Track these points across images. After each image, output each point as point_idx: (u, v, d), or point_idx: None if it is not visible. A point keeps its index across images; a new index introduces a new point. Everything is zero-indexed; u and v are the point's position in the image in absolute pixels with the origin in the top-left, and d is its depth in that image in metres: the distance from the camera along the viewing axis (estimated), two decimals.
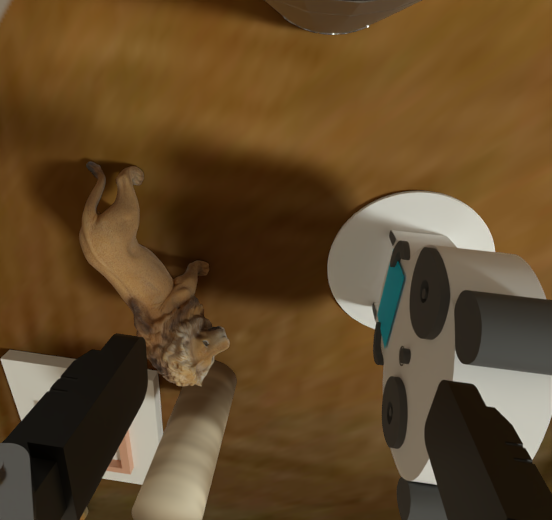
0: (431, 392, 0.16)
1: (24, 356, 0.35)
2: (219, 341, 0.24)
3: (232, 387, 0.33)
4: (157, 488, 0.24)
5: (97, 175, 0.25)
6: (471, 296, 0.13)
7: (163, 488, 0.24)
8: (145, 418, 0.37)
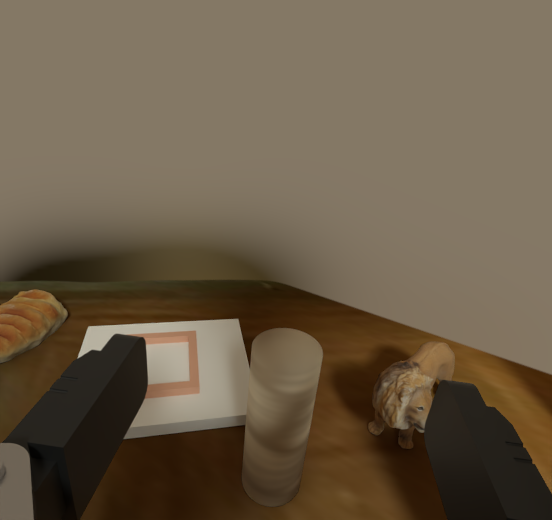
0: None
1: None
2: None
3: (287, 491, 0.27)
4: None
5: None
6: None
7: None
8: (197, 409, 0.33)
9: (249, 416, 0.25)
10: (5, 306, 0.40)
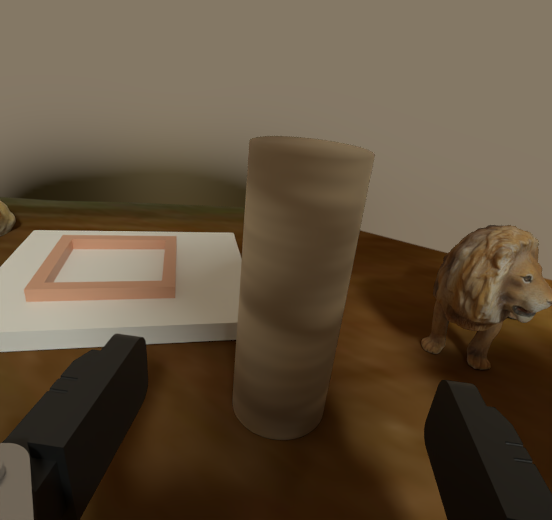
0: None
1: None
2: None
3: (306, 414, 0.17)
4: None
5: None
6: None
7: None
8: (170, 314, 0.22)
9: (244, 276, 0.15)
10: None
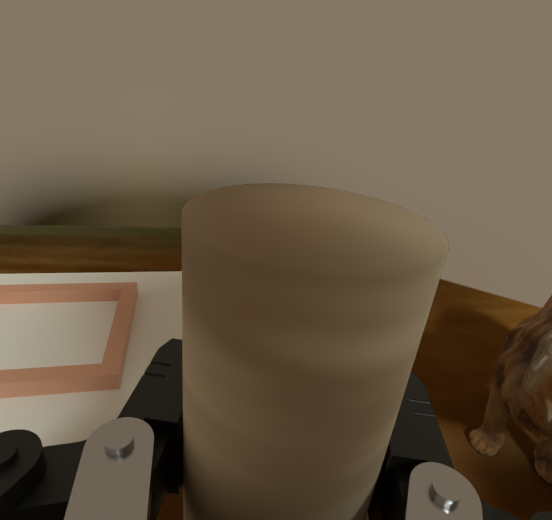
0: None
1: None
2: None
3: None
4: None
5: None
6: None
7: None
8: None
9: (186, 453, 0.08)
10: None
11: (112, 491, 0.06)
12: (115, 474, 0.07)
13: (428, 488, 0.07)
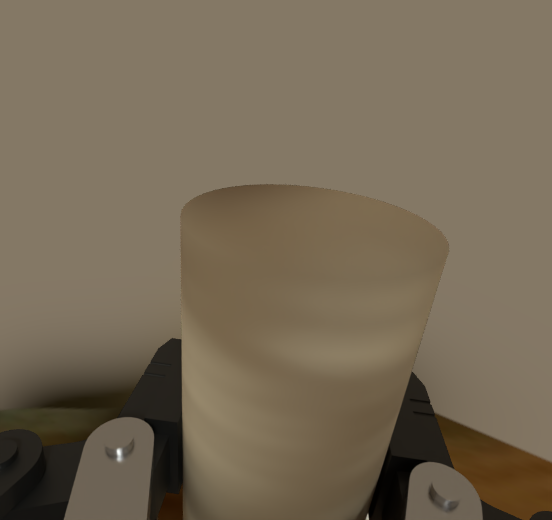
0: None
1: None
2: None
3: None
4: None
5: None
6: None
7: None
8: None
9: (185, 455, 0.08)
10: None
11: (112, 491, 0.06)
12: (115, 474, 0.07)
13: (428, 488, 0.07)
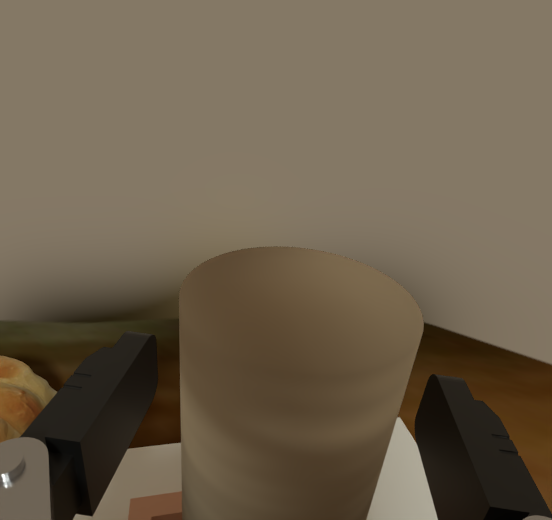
0: None
1: None
2: None
3: None
4: None
5: None
6: None
7: None
8: None
9: (184, 505, 0.08)
10: None
11: None
12: (6, 500, 0.06)
13: None
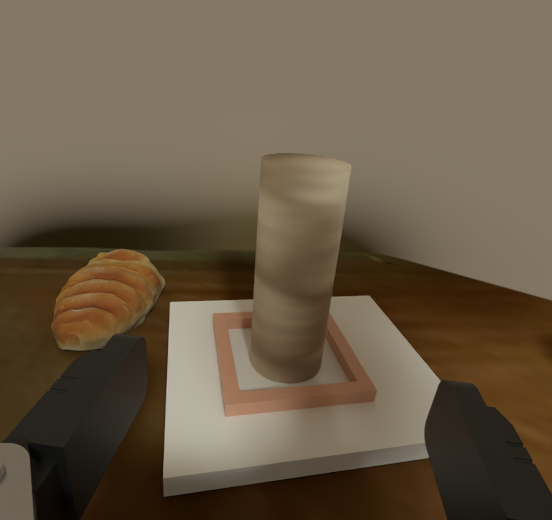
0: None
1: None
2: None
3: (307, 362, 0.22)
4: None
5: None
6: None
7: None
8: (384, 428, 0.20)
9: (259, 257, 0.20)
10: (91, 270, 0.28)
11: None
12: None
13: None
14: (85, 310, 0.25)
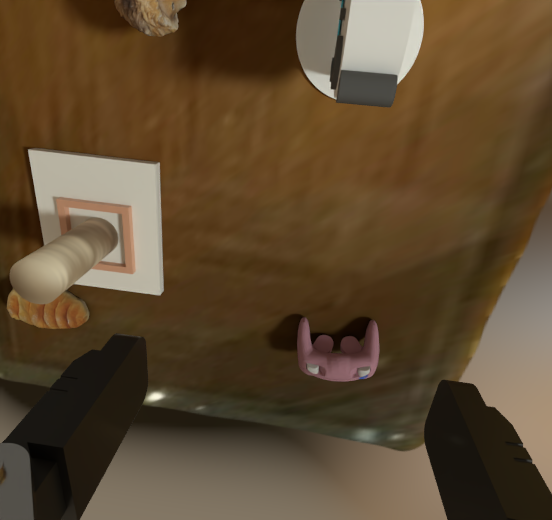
0: None
1: (47, 150, 0.42)
2: None
3: (112, 237, 0.44)
4: (29, 256, 0.34)
5: None
6: None
7: (33, 256, 0.34)
8: (147, 209, 0.43)
9: None
10: (35, 320, 0.49)
11: None
12: None
13: None
14: (69, 318, 0.49)
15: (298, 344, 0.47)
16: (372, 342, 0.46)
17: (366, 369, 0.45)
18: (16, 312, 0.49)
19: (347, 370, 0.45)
